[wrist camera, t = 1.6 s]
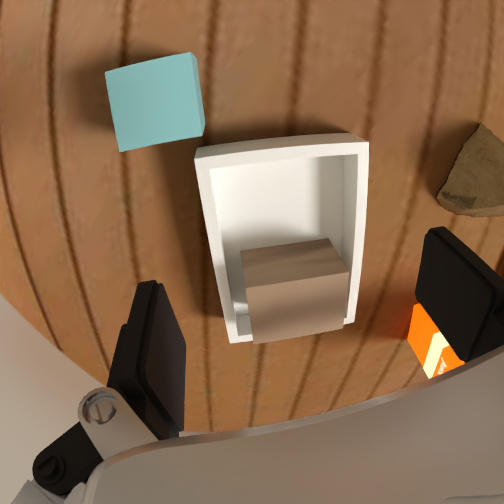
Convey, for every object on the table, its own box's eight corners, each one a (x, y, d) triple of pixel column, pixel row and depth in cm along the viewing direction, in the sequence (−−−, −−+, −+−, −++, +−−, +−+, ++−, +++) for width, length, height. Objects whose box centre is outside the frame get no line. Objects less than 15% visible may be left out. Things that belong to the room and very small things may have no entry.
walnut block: (240, 250, 31) (245, 287, 26) (328, 238, 32) (349, 271, 27) (247, 304, 35) (253, 344, 30) (326, 291, 35) (342, 328, 30)
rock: (448, 239, 32) (508, 212, 29) (475, 237, 24) (543, 204, 21) (413, 154, 33) (475, 132, 30) (431, 128, 25) (502, 106, 22)
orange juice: (450, 323, 44) (510, 416, 27) (406, 340, 44) (462, 445, 27) (460, 287, 40) (534, 385, 23) (413, 304, 40) (484, 418, 23)
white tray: (197, 147, 26) (194, 159, 23) (350, 132, 27) (368, 141, 24) (228, 318, 37) (230, 343, 34) (342, 300, 38) (353, 322, 34)
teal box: (127, 72, 22) (104, 72, 17) (196, 57, 22) (190, 52, 17) (138, 136, 25) (119, 152, 20) (205, 123, 26) (202, 135, 20)
